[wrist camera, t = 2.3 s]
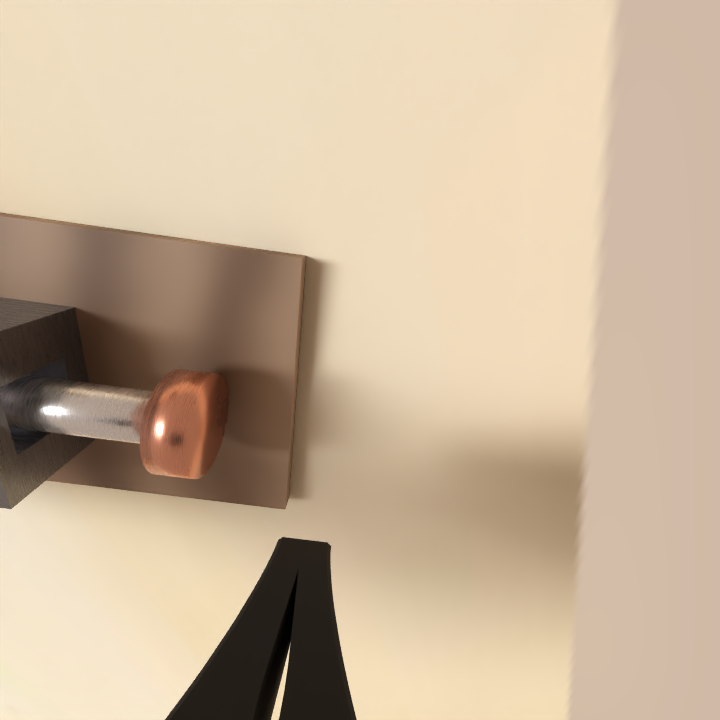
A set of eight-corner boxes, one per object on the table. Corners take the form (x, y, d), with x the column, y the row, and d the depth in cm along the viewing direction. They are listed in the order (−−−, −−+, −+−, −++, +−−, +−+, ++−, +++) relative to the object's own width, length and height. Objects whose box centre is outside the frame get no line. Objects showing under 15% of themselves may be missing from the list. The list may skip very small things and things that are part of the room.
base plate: (306, 255, 16) (302, 258, 15) (288, 496, 21) (285, 509, 20) (-134, 193, 15) (-167, 192, 14) (-36, 456, 20) (-55, 468, 20)
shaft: (228, 357, 16) (180, 406, 12) (229, 437, 18) (187, 503, 14) (6, 328, 16) (-120, 368, 12) (28, 411, 17) (-75, 471, 13)
